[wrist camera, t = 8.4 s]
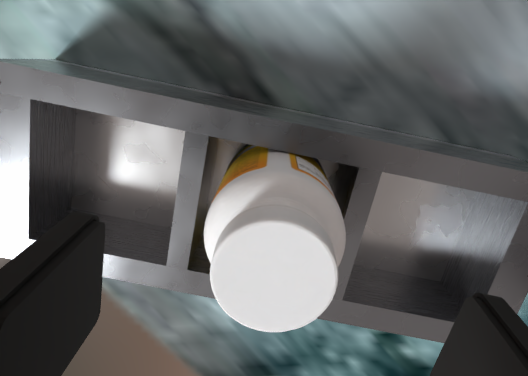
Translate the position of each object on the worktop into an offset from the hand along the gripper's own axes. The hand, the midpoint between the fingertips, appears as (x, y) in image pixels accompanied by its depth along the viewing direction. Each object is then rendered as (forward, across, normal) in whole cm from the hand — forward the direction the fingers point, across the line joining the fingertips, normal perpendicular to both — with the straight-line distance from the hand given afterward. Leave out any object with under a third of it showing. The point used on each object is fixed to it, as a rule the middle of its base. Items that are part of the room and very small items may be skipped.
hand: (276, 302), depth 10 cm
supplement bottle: (+12, 0, +1) cm, 12 cm away
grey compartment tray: (+12, 0, +2) cm, 13 cm away
